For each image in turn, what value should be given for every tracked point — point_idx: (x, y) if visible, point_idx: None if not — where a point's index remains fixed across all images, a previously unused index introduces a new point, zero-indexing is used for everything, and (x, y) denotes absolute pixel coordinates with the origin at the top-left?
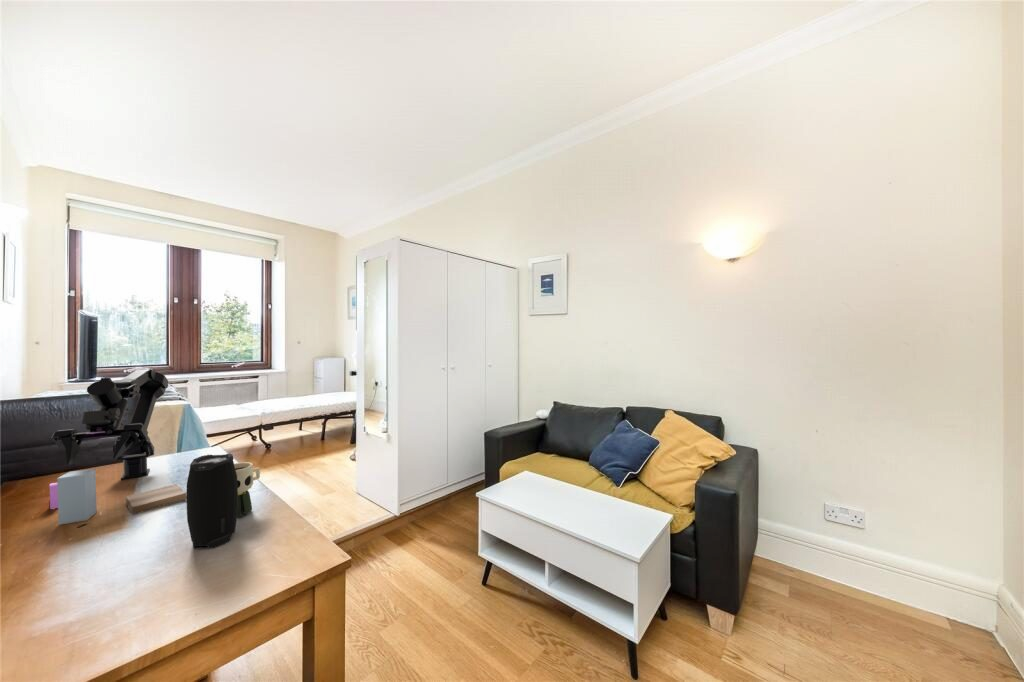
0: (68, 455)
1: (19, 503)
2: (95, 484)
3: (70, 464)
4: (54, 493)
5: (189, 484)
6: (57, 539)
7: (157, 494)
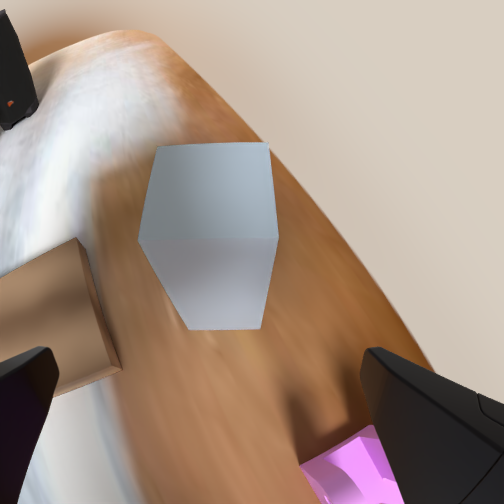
0: (423, 378)
1: None
2: (164, 286)
3: (361, 378)
4: None
5: (14, 30)
6: None
7: (30, 321)
